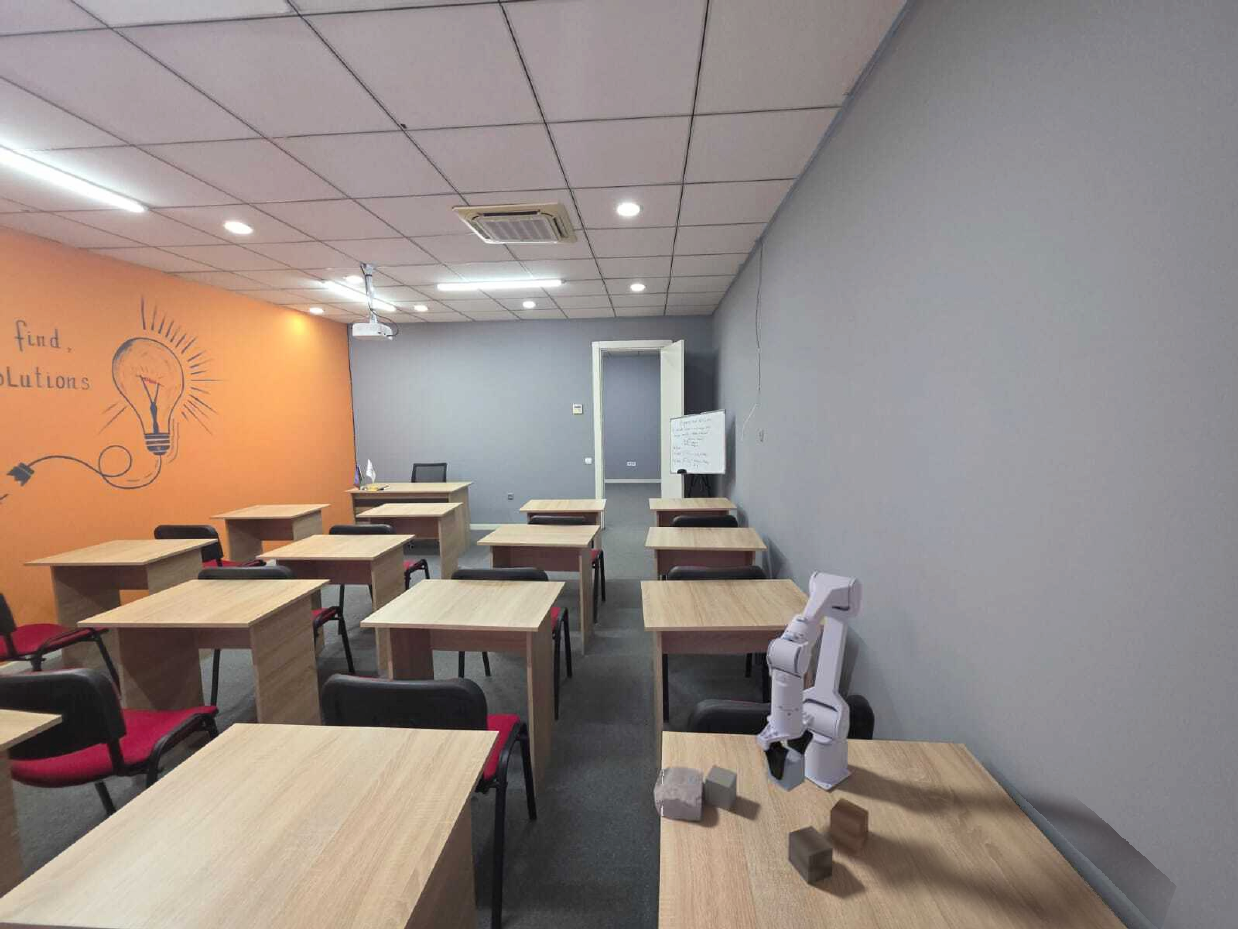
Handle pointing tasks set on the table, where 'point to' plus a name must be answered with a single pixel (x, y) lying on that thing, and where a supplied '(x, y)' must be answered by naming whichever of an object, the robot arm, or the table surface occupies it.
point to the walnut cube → (849, 824)
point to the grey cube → (720, 787)
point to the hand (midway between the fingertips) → (785, 771)
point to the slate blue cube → (790, 770)
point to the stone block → (679, 793)
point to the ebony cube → (810, 854)
